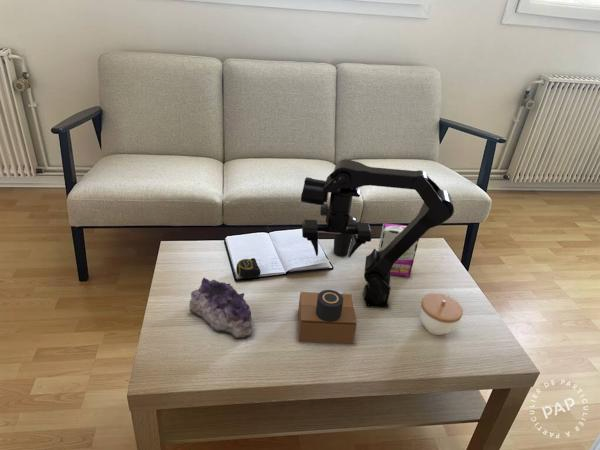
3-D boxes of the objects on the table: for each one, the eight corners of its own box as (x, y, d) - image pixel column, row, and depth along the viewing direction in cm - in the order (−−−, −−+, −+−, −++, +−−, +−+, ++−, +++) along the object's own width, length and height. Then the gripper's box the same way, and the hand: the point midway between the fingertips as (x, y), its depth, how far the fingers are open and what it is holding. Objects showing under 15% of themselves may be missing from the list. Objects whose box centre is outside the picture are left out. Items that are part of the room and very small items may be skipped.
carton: (298, 341, 106) (301, 320, 102) (298, 311, 115) (300, 291, 112) (352, 343, 106) (357, 322, 103) (347, 314, 116) (351, 294, 112)
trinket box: (449, 347, 108) (459, 321, 103) (410, 329, 112) (418, 303, 108) (459, 324, 116) (468, 298, 111) (422, 308, 121) (430, 283, 116)
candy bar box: (407, 268, 137) (418, 226, 129) (409, 277, 133) (421, 234, 125) (374, 264, 138) (383, 222, 130) (374, 273, 134) (384, 230, 125)
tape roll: (339, 305, 108) (342, 289, 105) (342, 322, 102) (344, 306, 100) (315, 303, 108) (317, 288, 105) (316, 321, 102) (318, 305, 100)
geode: (267, 322, 111) (267, 297, 105) (237, 351, 103) (234, 325, 97) (215, 287, 120) (211, 262, 114) (183, 311, 113) (178, 285, 107)
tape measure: (260, 279, 126) (261, 269, 125) (238, 282, 124) (238, 272, 122) (255, 266, 132) (256, 256, 130) (234, 268, 130) (234, 258, 128)
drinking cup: (326, 255, 140) (333, 203, 130) (333, 244, 146) (340, 193, 136) (348, 261, 138) (356, 209, 128) (354, 250, 144) (363, 199, 134)
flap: (300, 306, 107) (300, 305, 107) (300, 292, 112) (300, 291, 111) (353, 308, 108) (353, 307, 108) (351, 295, 112) (351, 294, 112)
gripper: (369, 196, 117) (361, 242, 125) (304, 191, 116) (299, 238, 124) (376, 215, 107) (366, 264, 115) (305, 210, 106) (300, 260, 114)
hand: (332, 255), depth 117 cm, fingers open, 9 cm apart
